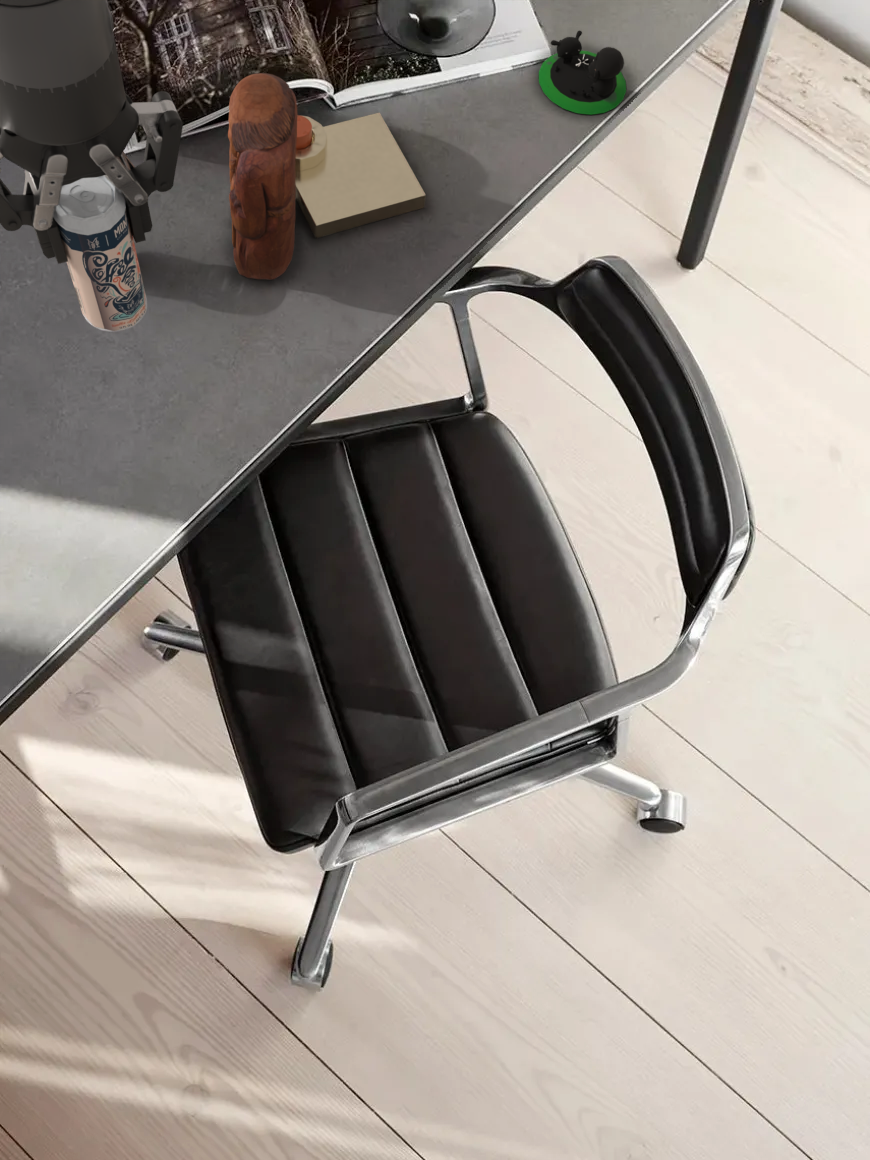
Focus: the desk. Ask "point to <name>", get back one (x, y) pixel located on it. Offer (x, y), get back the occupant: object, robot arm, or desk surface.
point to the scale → (353, 176)
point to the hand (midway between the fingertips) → (97, 242)
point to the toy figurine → (583, 77)
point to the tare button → (303, 133)
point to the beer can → (101, 253)
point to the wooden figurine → (262, 174)
